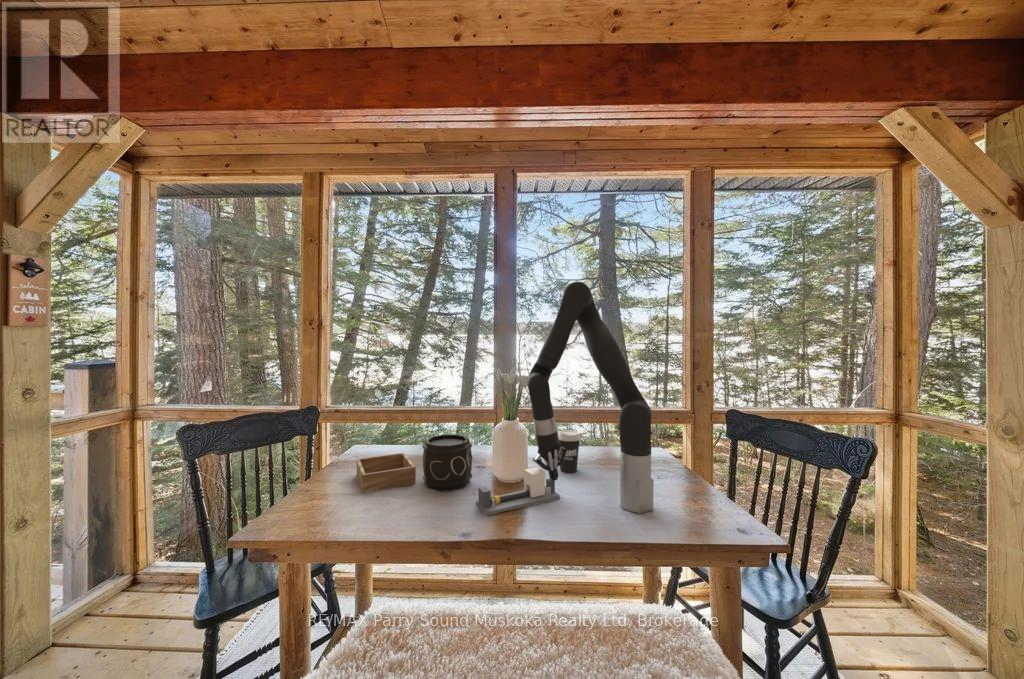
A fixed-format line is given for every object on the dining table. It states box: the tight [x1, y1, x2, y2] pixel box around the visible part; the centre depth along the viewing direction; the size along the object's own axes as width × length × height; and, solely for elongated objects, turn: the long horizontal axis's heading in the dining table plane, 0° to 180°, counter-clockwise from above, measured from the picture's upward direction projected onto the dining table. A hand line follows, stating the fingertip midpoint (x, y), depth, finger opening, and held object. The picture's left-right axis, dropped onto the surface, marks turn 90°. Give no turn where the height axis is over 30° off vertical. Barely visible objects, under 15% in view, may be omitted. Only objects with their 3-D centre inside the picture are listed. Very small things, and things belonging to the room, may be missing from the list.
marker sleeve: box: [523, 466, 546, 498], centre depth 131 cm, size 5×5×8 cm
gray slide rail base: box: [475, 477, 561, 516], centre depth 128 cm, size 26×9×6 cm, turn 117°
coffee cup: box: [558, 429, 582, 474], centre depth 156 cm, size 10×10×15 cm
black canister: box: [422, 433, 473, 492], centre depth 144 cm, size 18×18×16 cm
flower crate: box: [356, 452, 417, 493], centre depth 148 cm, size 19×18×6 cm
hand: (554, 479), depth 135 cm, fingers closed
